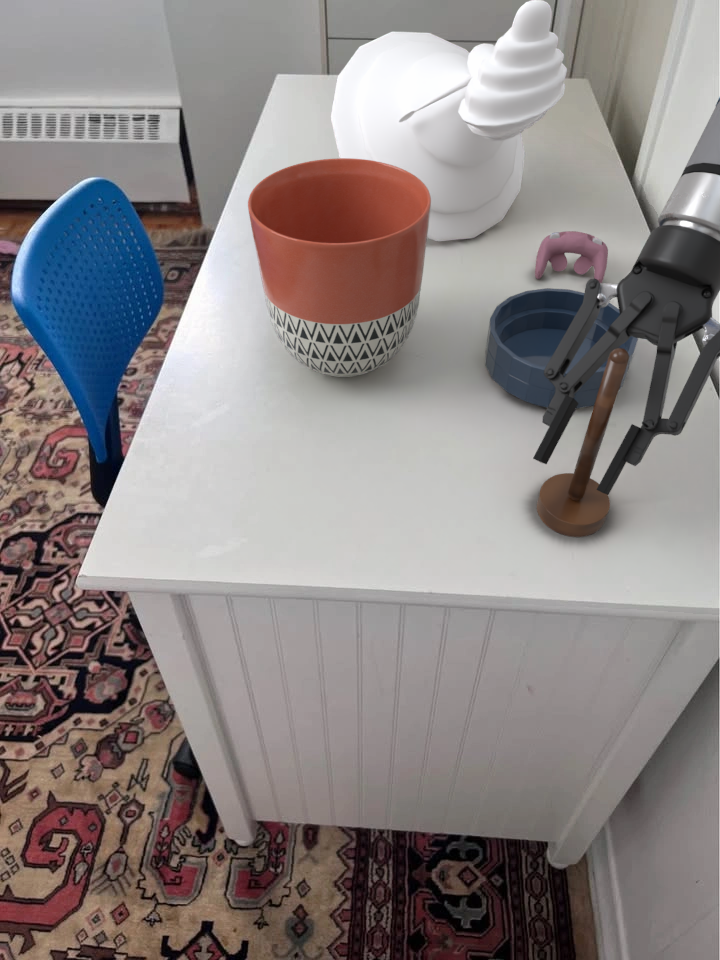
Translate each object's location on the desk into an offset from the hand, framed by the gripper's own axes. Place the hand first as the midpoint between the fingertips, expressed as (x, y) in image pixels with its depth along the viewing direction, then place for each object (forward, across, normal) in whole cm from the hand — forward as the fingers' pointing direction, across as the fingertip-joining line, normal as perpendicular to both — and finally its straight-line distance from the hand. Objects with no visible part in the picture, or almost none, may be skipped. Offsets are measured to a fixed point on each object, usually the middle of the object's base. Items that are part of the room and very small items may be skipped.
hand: (570, 476), depth 66 cm
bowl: (-11, +13, -23) cm, 28 cm away
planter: (0, +35, -12) cm, 37 cm away
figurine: (-28, +46, -40) cm, 67 cm away
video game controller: (-25, +21, -37) cm, 50 cm away
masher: (+3, 0, -8) cm, 9 cm away
